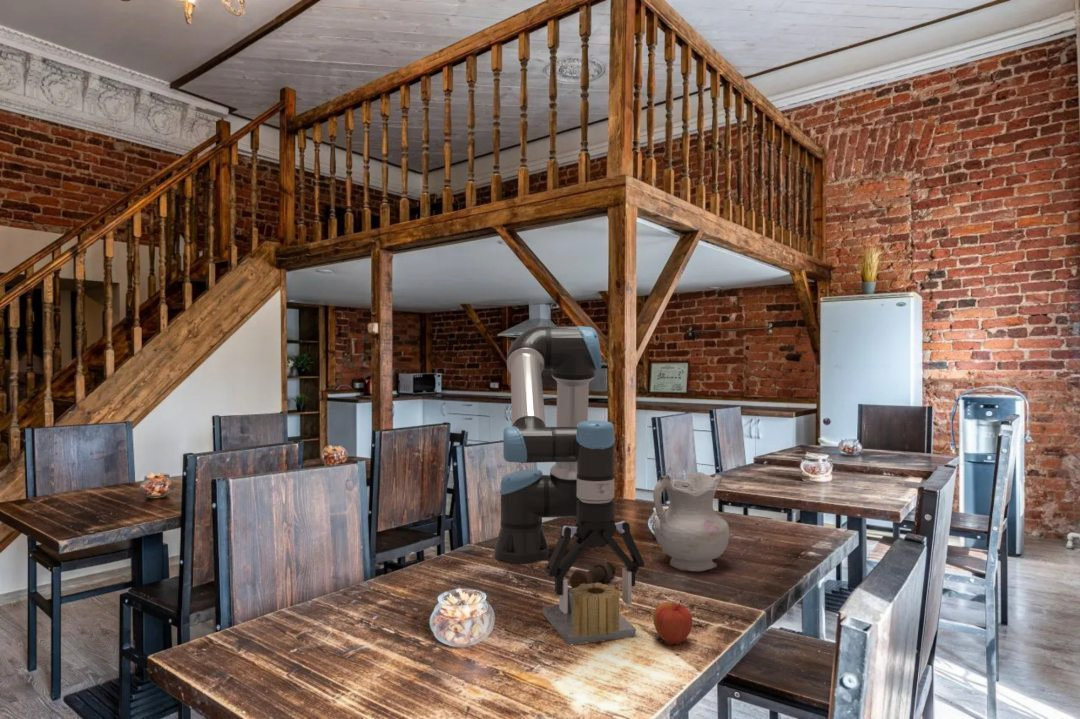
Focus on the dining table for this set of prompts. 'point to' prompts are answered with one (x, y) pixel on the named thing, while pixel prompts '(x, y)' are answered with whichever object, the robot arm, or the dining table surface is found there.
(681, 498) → the ceramic pitcher
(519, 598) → the dining table surface
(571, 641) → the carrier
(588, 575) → the bolt
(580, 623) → the gear
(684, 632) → the apple
